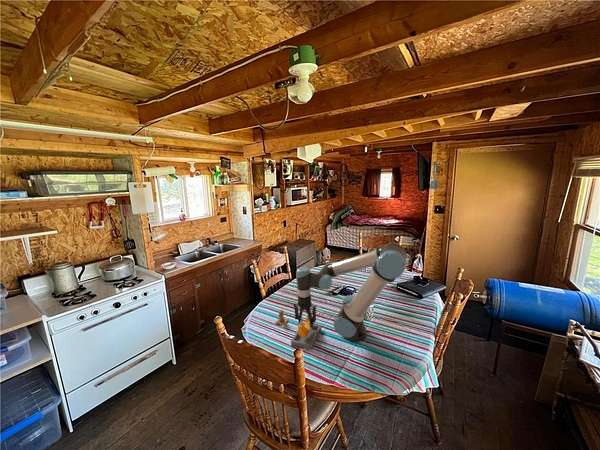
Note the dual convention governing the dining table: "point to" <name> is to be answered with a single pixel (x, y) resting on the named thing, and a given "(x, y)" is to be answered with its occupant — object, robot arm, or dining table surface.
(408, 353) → the dining table surface
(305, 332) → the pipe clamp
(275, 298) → the dining table surface
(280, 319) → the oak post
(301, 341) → the tray
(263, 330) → the dining table surface
